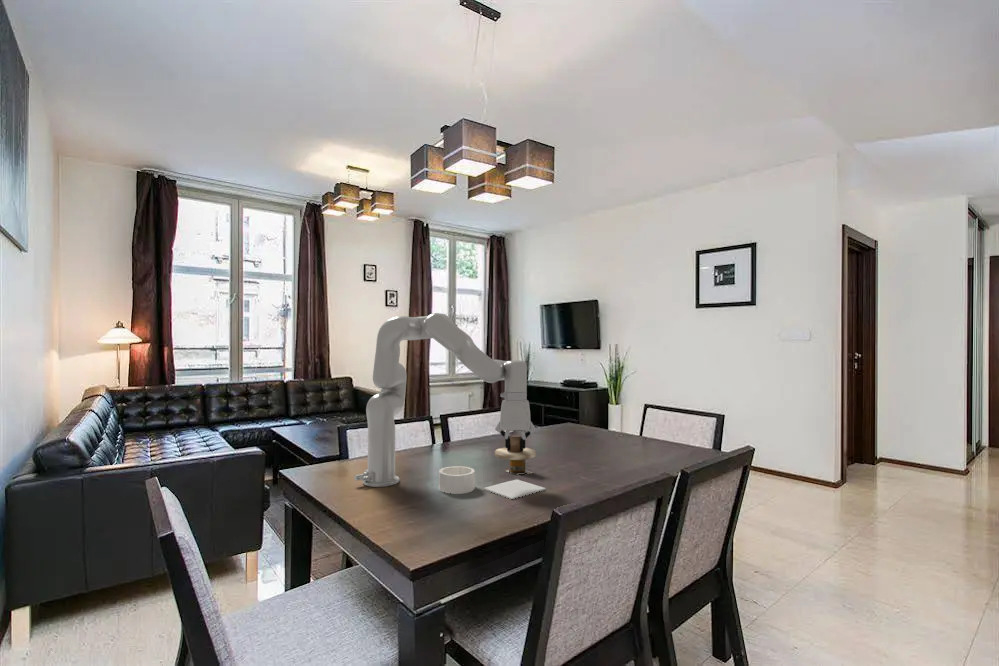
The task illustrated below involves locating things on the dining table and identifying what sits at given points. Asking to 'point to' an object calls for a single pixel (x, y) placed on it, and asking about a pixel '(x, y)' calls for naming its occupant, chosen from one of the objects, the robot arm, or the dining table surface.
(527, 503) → the dining table surface
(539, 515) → the dining table surface
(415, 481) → the dining table surface
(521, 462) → the condiment
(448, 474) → the bowl
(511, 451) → the lid
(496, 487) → the mat
